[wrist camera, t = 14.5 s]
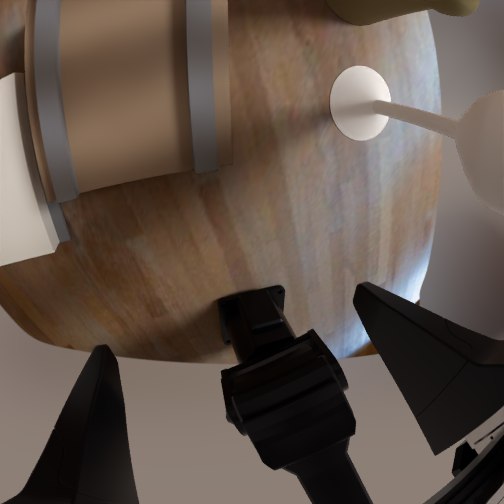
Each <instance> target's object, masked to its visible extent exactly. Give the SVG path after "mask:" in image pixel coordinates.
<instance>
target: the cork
mask: <svg viewBox="0 0 504 504" xmlns="http://www.w3.org/2000/svg"><path fill="white" fill-rule="evenodd" d="M325 1H326V3H327V4H328V5H329V7H330V8H331V9H332V11H333V12H335V13H336V14H337V15H338V16H339V17H340V18H341V19H343V20H345V21H347V22H349V23H351V24H355V25H359V26H363V25H370V24H373V23H376V22H380V21H383V20H387V19H390V18H394V17H398V16H402V15H406V14H410V13H414V12H419V11H424V10H429V9H434V10H436V11H438V12H440V13H442V14H446V15H450V16H461V17H463V16H467V15H470V14H471V13H473V12H474V11H475V10H477V8H478V5H479V0H325Z"/></svg>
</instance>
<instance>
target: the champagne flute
mask: <svg viewBox="0 0 504 504" xmlns="http://www.w3.org/2000/svg"><path fill="white" fill-rule="evenodd" d="M330 109H331V114H332V117H333V120H334V122H335V124H336V126H337V127H338V128H339V130H340V131H341V132H342V133H343V134H344V135H345V136H347V137H349V138H351V139H353V140H357V141H365V140H369V139H371V138H373V137H375V136H376V135H378V134H379V133H380V132H381V131H382V130H383V128H384V127H385V125H386V123H387V121H388V119H389V117H391V118H395V119H398V120H402V121H405V122H408V123H411V124H414V125H418V126H421V127H424V128H426V129H429V130H432V131H435V132H438V133H440V134H443V135H446V136H448V137H451V138H454V139H455V141H456V147H457V150H458V153H459V156H460V159H461V162H462V165H463V169H464V172H465V174H466V176H467V178H468V181H469V183H470V185H471V187H472V189H473V191H474V192H475V194H476V195H477V197H478V199H479V200H480V201H481V202H482V203H483V204H484V205H485V206H486V207H487V208H489V209H491V210H493V211H495V212H497V213H499V214H501V215H502V216H504V90H499V91H495V92H492V93H489V94H487V95H485V96H483V97H482V98H480V99H478V100H477V101H476V102H475V103H474V104H473V105H472V106H471V107H470V108H469V109H468V110H467V111H466V112H465V113H464V114H463V115H462V116H461V117H460V119H459V121H456V120H453V119H450V118H447V117H444V116H441V115H438V114H434V113H431V112H427V111H424V110H420V109H416V108H413V107H409V106H405V105H400V104H396V103H392V102H391V98H390V93H389V90H388V87H387V85H386V83H385V81H384V80H383V78H382V77H381V76H380V75H379V74H378V73H377V72H375V71H374V70H373V69H370V68H368V67H365V66H353V67H350V68H348V69H346V70H344V71H343V72H342V73H341V74H340V75H339V76H338V77H337V79H336V80H335V82H334V84H333V87H332V90H331V95H330Z"/></svg>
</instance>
